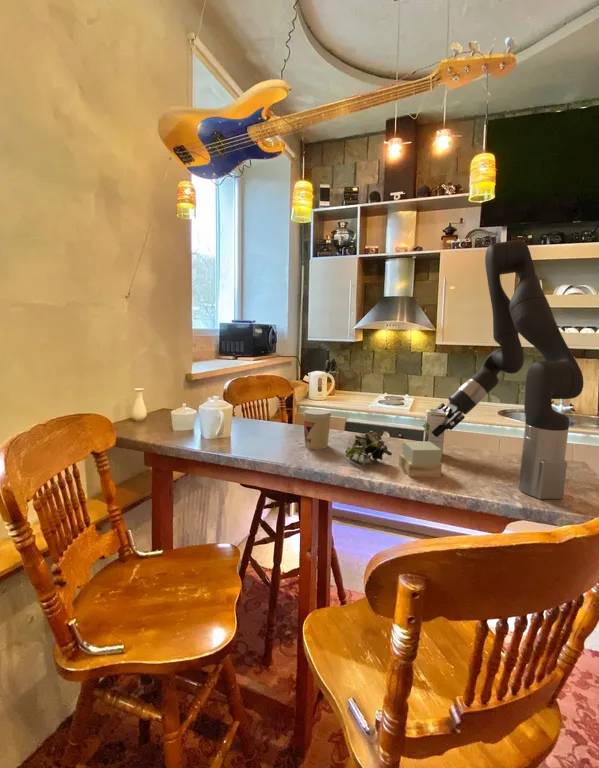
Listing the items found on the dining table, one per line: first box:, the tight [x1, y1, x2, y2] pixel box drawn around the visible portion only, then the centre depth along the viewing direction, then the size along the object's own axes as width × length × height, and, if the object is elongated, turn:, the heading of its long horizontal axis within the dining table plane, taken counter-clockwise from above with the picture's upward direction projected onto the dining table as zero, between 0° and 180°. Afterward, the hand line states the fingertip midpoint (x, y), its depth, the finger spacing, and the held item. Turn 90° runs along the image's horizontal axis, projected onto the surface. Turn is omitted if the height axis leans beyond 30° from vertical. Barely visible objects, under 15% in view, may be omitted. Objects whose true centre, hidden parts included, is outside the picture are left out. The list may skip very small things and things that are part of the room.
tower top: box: [401, 441, 442, 464], centre depth 115 cm, size 8×8×4 cm
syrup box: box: [423, 408, 446, 458], centre depth 131 cm, size 6×6×14 cm
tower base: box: [398, 453, 442, 478], centre depth 116 cm, size 9×9×4 cm
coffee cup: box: [302, 408, 332, 450], centre depth 138 cm, size 9×9×12 cm
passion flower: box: [344, 432, 393, 468], centre depth 122 cm, size 11×11×12 cm
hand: (429, 431), depth 131 cm, fingers open, 7 cm apart
